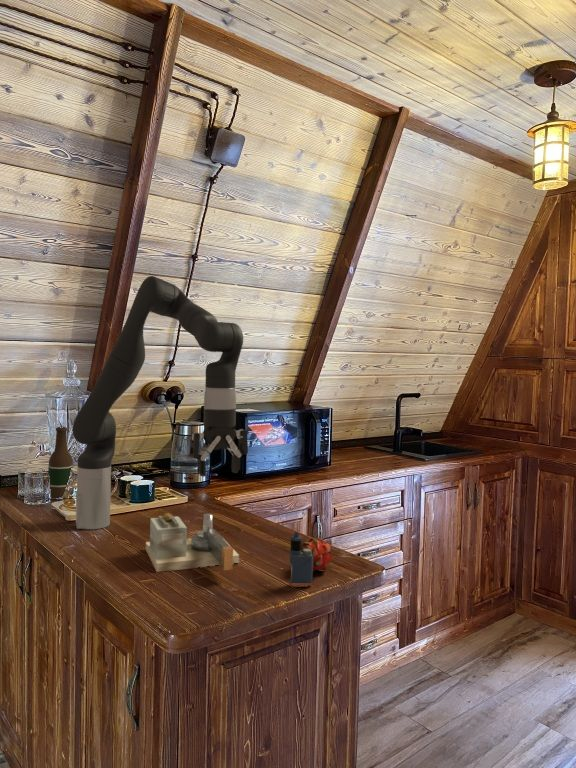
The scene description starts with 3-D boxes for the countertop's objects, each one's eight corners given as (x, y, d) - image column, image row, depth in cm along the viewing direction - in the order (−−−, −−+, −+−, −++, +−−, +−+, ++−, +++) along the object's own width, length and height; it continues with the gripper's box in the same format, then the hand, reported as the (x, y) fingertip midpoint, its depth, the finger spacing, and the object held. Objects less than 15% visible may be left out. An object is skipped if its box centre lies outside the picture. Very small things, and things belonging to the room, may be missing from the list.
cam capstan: (187, 542, 152) (188, 511, 151) (217, 539, 155) (219, 509, 155) (210, 574, 131) (212, 538, 131) (245, 570, 134) (246, 535, 134)
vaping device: (288, 583, 134) (290, 531, 133) (311, 583, 134) (313, 531, 133) (289, 587, 131) (291, 534, 130) (312, 587, 132) (314, 534, 131)
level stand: (156, 572, 137) (158, 525, 137) (145, 549, 152) (146, 507, 151) (238, 563, 145) (240, 519, 144) (220, 543, 160) (222, 502, 159)
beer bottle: (57, 501, 194) (59, 429, 193) (42, 497, 199) (44, 426, 197) (77, 497, 201) (78, 427, 200) (62, 493, 205) (64, 424, 204)
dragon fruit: (298, 585, 137) (318, 576, 148) (328, 569, 134) (346, 561, 145) (282, 550, 140) (303, 544, 150) (311, 534, 137) (330, 529, 148)
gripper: (238, 404, 147) (237, 468, 148) (185, 406, 139) (184, 474, 140) (253, 407, 141) (252, 474, 142) (198, 409, 133) (197, 480, 134)
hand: (218, 474), depth 141 cm, fingers open, 8 cm apart
